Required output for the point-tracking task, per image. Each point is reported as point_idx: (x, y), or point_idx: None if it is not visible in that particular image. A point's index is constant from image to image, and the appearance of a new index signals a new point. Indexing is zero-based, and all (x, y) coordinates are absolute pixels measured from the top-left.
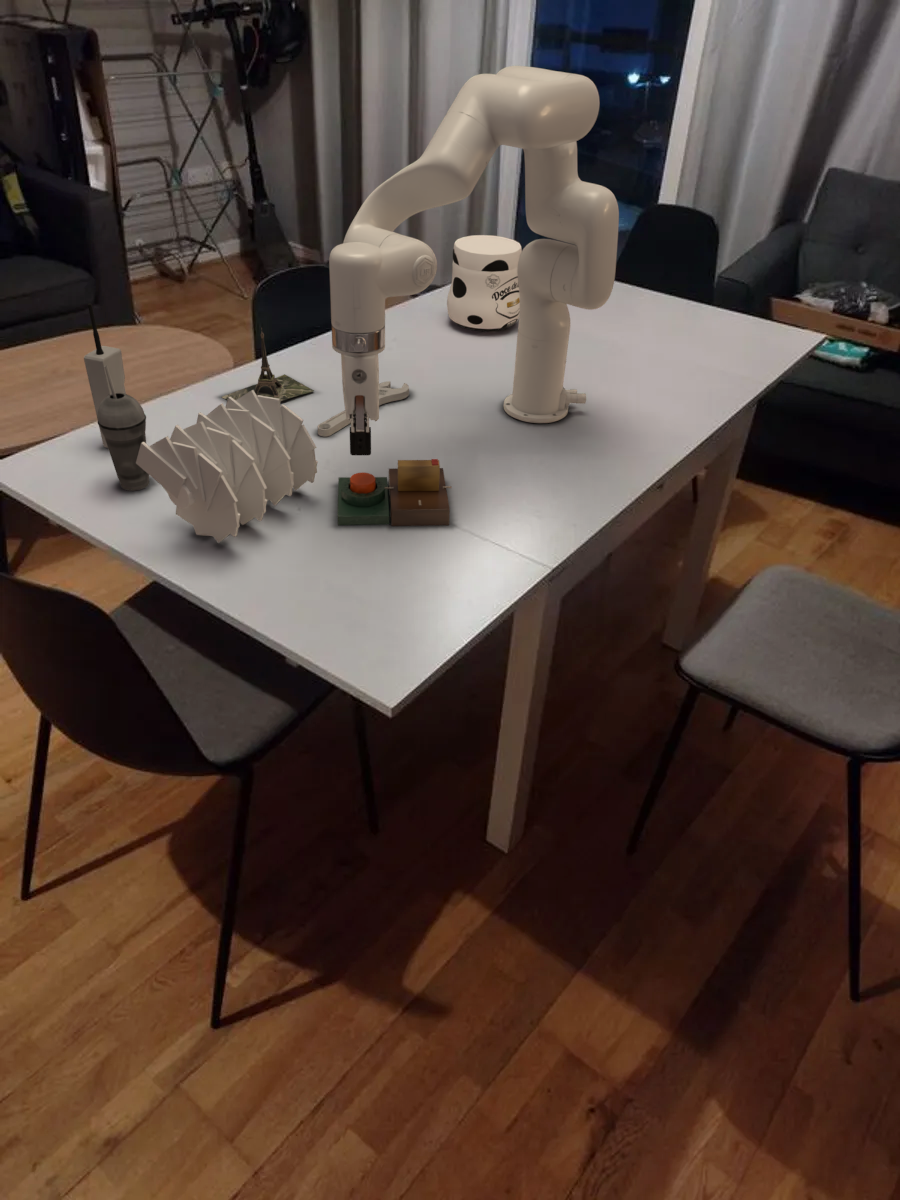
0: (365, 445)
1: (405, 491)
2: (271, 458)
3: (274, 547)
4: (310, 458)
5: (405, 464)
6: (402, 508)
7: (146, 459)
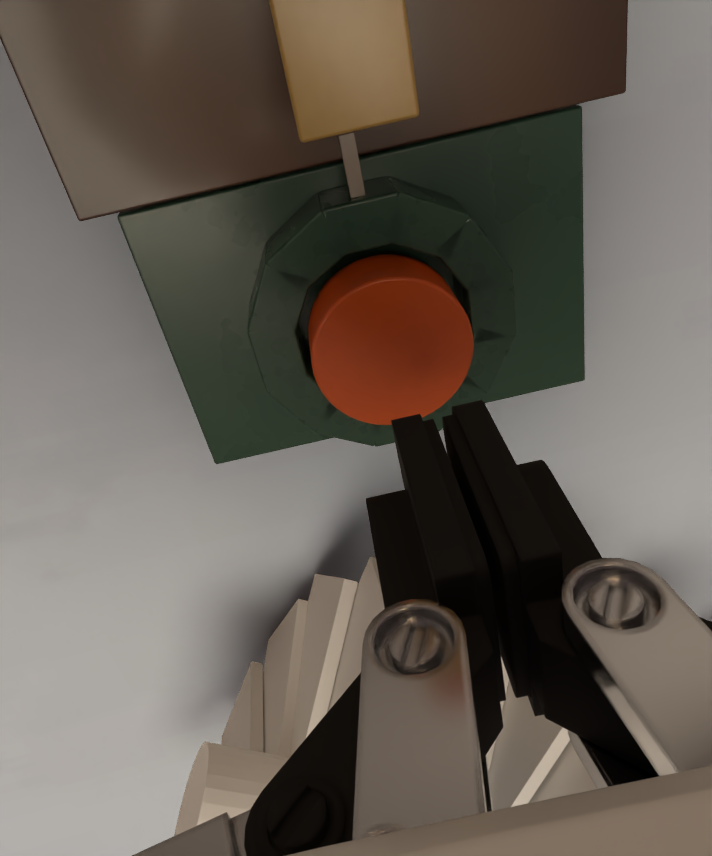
0: (563, 493)
1: None
2: None
3: (704, 524)
4: None
5: (375, 42)
6: (608, 9)
7: None
